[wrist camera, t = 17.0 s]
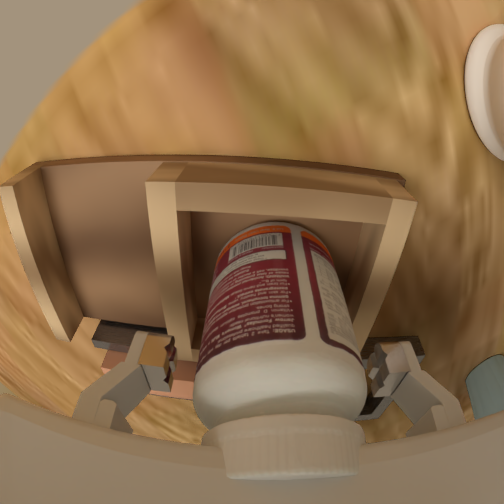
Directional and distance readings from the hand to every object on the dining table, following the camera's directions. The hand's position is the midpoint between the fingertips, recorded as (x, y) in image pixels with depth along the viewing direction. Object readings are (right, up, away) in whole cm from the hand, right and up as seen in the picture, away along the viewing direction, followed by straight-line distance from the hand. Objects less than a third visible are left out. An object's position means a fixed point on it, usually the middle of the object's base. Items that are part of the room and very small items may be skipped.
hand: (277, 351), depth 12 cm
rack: (-4, +4, +5) cm, 8 cm away
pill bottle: (0, +3, +5) cm, 6 cm away
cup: (+25, -9, +14) cm, 30 cm away
